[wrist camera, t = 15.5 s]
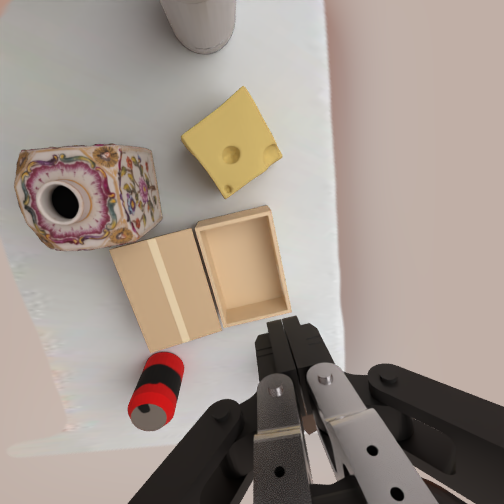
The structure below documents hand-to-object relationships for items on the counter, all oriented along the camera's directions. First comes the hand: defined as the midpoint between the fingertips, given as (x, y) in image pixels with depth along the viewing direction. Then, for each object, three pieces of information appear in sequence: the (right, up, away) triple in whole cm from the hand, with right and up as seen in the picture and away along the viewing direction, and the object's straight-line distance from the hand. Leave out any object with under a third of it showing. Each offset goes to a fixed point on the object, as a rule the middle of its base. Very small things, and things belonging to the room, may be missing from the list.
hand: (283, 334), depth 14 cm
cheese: (-5, +21, +32) cm, 39 cm away
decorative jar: (-23, +14, +33) cm, 43 cm away
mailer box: (-3, +2, +38) cm, 38 cm away
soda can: (-19, -19, +44) cm, 51 cm away
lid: (-15, -3, +32) cm, 35 cm away
